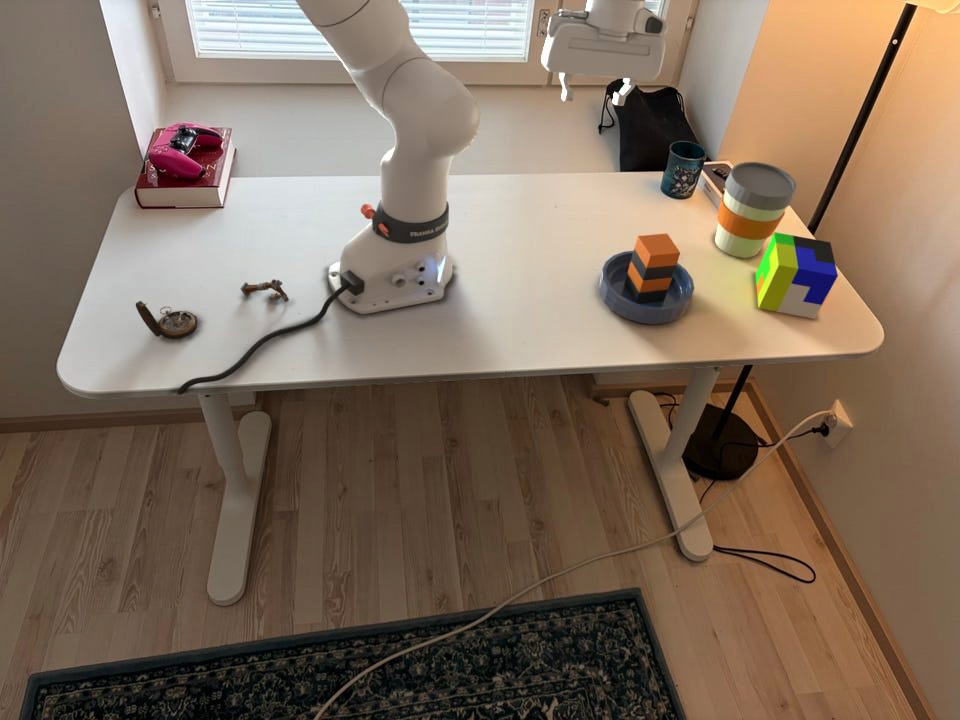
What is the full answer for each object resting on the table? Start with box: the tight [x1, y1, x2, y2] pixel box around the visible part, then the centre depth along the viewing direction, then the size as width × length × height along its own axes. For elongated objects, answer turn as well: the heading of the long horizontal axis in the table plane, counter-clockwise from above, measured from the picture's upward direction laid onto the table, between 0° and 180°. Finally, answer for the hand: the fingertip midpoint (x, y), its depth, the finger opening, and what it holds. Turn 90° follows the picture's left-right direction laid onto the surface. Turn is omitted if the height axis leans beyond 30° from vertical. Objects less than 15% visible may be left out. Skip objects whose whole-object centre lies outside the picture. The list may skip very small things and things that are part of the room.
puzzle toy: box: [754, 231, 839, 320], centre depth 131 cm, size 10×10×10 cm
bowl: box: [598, 250, 695, 325], centre depth 130 cm, size 16×16×4 cm
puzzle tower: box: [624, 233, 681, 304], centre depth 127 cm, size 6×6×11 cm
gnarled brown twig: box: [239, 279, 290, 303], centre depth 123 cm, size 2×8×4 cm, turn 75°
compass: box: [135, 300, 199, 340], centre depth 115 cm, size 8×8×7 cm
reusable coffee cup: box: [714, 161, 797, 259], centre depth 140 cm, size 13×13×15 cm
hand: (592, 102), depth 122 cm, fingers open, 8 cm apart
